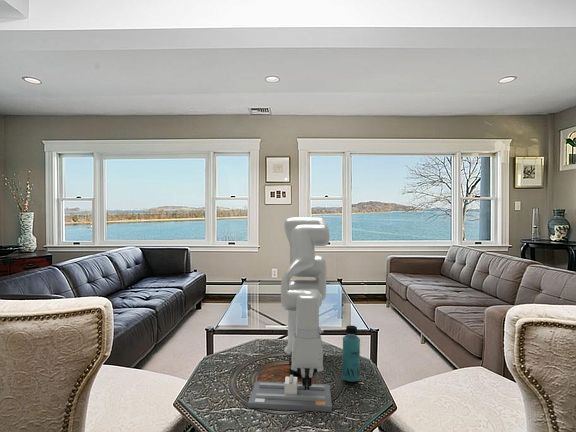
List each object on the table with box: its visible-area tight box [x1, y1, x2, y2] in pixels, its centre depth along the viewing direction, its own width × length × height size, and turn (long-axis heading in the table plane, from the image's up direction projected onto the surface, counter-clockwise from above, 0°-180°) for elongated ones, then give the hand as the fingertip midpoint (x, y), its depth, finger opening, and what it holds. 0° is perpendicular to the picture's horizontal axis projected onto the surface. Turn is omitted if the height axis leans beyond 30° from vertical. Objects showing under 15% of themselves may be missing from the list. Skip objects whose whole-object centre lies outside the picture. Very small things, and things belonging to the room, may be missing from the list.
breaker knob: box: [284, 375, 298, 395], centre depth 114 cm, size 5×4×5 cm
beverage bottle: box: [341, 325, 361, 382], centre depth 125 cm, size 6×7×20 cm
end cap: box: [288, 352, 309, 378], centre depth 133 cm, size 10×7×7 cm
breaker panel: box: [247, 381, 333, 413], centre depth 114 cm, size 14×26×2 cm, turn 86°
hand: (306, 387), depth 113 cm, fingers closed
